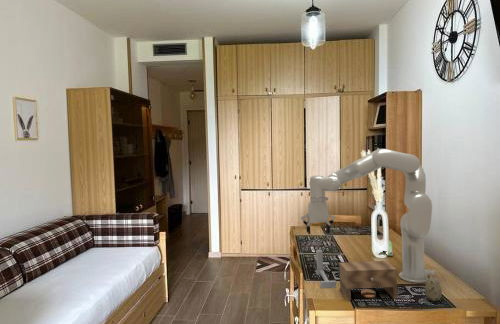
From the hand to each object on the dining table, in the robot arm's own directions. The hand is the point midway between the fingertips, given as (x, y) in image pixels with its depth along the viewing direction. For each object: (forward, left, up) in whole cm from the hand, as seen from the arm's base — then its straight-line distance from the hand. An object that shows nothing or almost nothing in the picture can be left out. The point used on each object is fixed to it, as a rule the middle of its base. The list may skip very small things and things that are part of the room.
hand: (318, 233), depth 162 cm
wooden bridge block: (-15, +25, -21) cm, 36 cm away
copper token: (-15, +26, -21) cm, 37 cm away
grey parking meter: (0, +8, -21) cm, 22 cm away
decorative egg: (-39, +33, -21) cm, 55 cm away
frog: (-45, -25, -21) cm, 56 cm away
